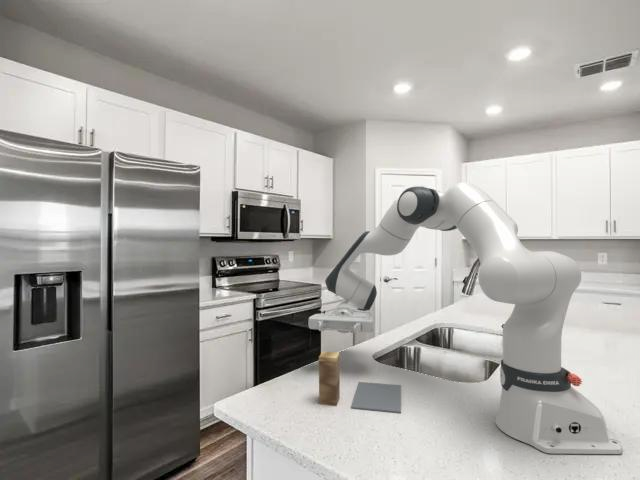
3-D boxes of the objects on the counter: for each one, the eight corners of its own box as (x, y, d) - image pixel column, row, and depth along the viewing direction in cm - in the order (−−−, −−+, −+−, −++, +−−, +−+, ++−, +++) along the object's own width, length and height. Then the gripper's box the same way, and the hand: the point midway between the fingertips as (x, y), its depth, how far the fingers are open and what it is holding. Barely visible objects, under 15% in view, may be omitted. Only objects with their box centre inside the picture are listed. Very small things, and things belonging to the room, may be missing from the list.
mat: (400, 386, 102) (400, 385, 102) (400, 413, 86) (400, 411, 86) (358, 383, 104) (358, 381, 104) (351, 408, 89) (351, 406, 89)
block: (339, 398, 95) (339, 352, 95) (336, 405, 90) (336, 358, 90) (322, 396, 96) (322, 351, 96) (319, 404, 91) (318, 356, 91)
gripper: (313, 307, 121) (302, 316, 107) (375, 310, 116) (371, 320, 103) (313, 326, 121) (302, 337, 107) (375, 329, 116) (371, 342, 103)
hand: (336, 329), depth 105 cm, fingers open, 8 cm apart
